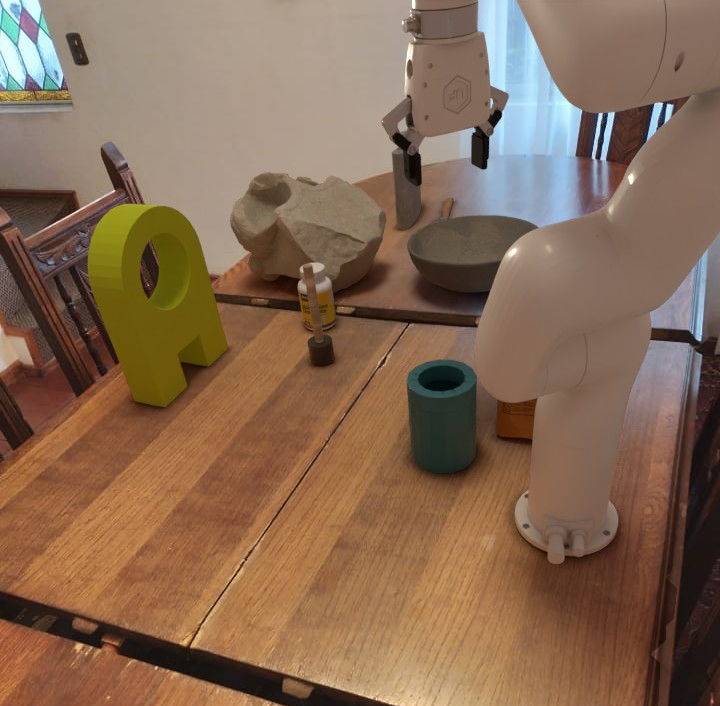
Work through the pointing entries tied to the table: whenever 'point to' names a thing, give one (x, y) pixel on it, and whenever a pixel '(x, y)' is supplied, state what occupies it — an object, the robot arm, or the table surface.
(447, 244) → the bowl
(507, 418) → the coffee package
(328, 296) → the pill bottle
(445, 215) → the knife
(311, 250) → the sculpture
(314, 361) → the scrub brush
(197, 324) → the decorative object
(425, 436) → the jar
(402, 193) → the hip flask
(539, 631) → the table surface
